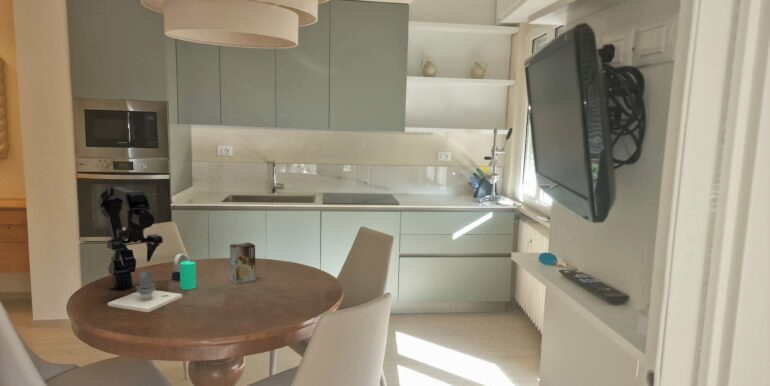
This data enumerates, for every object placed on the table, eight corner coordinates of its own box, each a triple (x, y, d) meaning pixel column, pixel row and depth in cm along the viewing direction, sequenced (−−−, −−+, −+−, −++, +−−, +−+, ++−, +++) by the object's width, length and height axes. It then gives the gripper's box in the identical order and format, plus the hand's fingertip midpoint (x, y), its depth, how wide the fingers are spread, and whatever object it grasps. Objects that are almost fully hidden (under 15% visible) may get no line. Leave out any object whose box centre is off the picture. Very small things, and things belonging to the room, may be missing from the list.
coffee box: (249, 277, 225) (249, 242, 223) (255, 280, 220) (255, 244, 218) (229, 280, 219) (229, 244, 217) (235, 284, 214) (235, 247, 213)
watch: (191, 276, 223) (191, 252, 222) (182, 281, 215) (181, 256, 214) (179, 275, 224) (179, 251, 223) (169, 280, 216) (169, 255, 215)
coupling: (155, 292, 187) (155, 276, 186) (136, 294, 184) (136, 278, 184) (154, 286, 195) (154, 270, 194) (136, 287, 192) (136, 272, 191)
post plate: (107, 305, 184) (107, 295, 183) (144, 291, 201) (144, 281, 200) (148, 312, 179) (147, 301, 178) (182, 297, 196) (182, 287, 195)
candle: (190, 290, 204) (190, 261, 203) (177, 288, 206) (176, 260, 204) (198, 286, 210) (198, 258, 209) (185, 284, 211) (185, 256, 210)
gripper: (150, 218, 205) (151, 255, 207) (100, 223, 191) (102, 263, 193) (163, 222, 197) (163, 261, 199) (112, 228, 183) (113, 269, 185)
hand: (136, 263), depth 194 cm, fingers open, 9 cm apart
